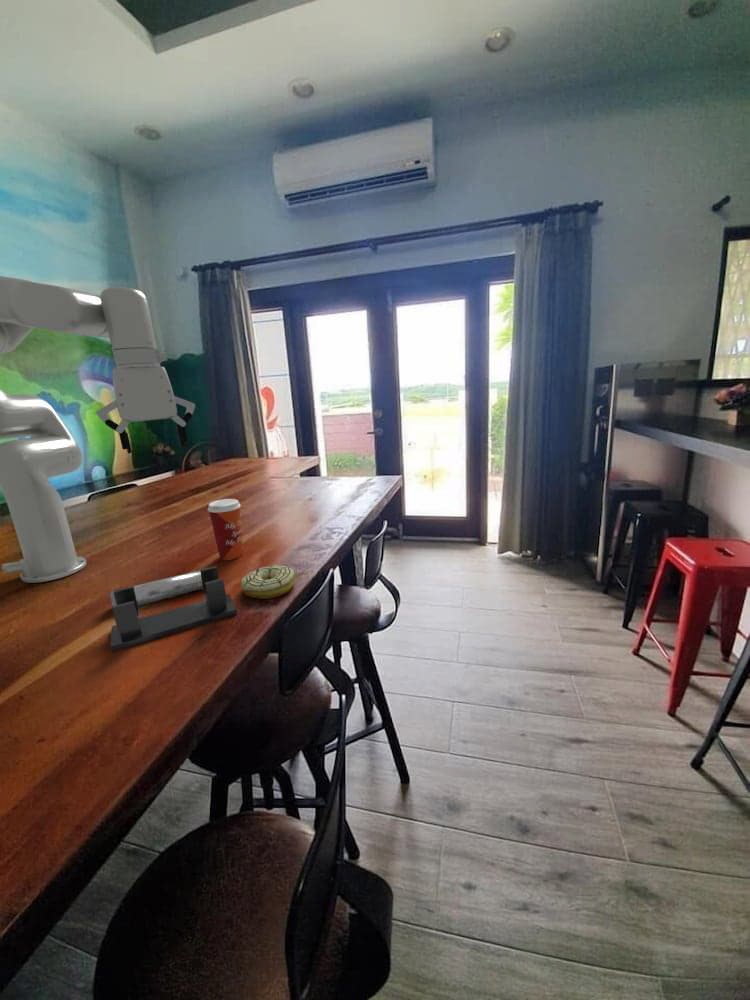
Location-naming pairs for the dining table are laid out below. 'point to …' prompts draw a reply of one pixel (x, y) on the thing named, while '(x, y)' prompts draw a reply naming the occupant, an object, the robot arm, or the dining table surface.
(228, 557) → the paper cup
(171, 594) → the rail
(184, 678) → the dining table surface
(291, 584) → the decorated donut
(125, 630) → the cradle stand
